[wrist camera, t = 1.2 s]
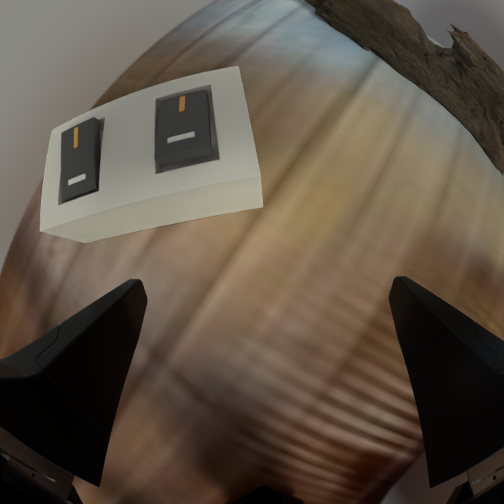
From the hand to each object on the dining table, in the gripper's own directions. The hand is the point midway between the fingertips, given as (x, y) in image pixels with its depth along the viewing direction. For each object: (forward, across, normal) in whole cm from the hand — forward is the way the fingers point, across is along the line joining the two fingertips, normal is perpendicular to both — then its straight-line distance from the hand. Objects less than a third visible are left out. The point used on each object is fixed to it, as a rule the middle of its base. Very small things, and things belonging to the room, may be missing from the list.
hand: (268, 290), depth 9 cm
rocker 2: (+12, +6, -5) cm, 14 cm away
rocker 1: (+11, +14, -4) cm, 18 cm away
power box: (+18, +10, -2) cm, 21 cm away
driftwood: (+25, -22, -10) cm, 35 cm away
